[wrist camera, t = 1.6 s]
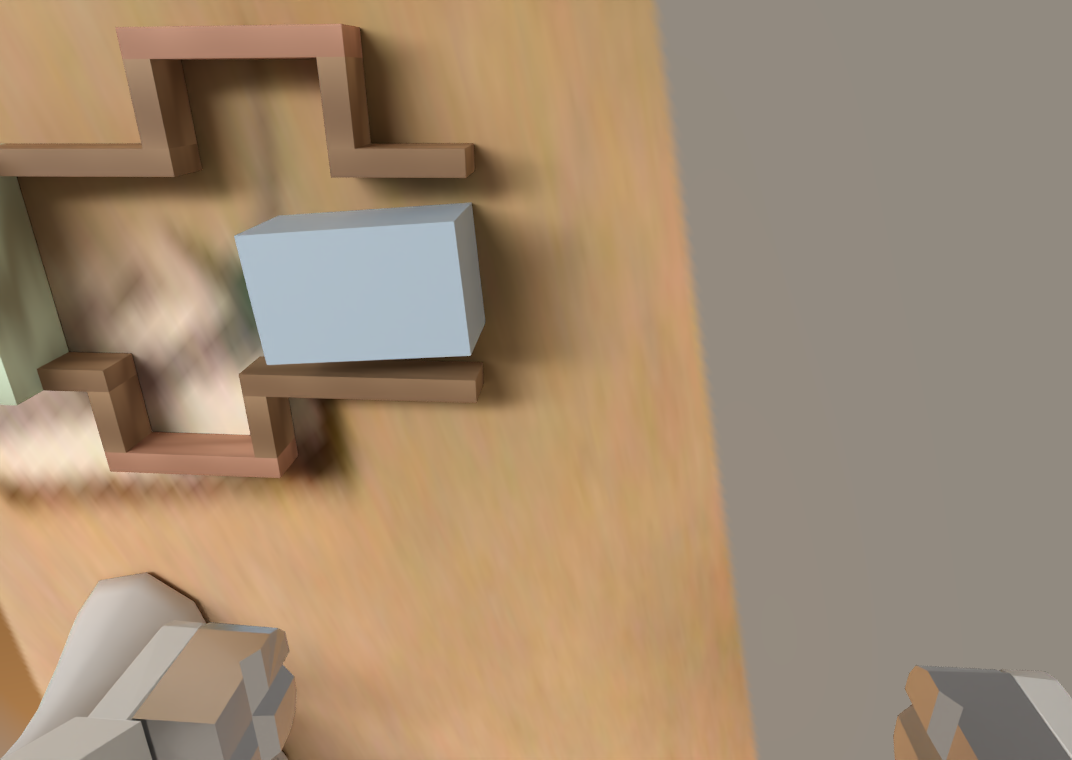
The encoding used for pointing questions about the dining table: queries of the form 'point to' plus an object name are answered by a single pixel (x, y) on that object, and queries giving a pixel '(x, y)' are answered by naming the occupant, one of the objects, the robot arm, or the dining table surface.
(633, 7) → the dining table surface
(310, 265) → the brick
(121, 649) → the flask
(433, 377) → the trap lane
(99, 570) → the dining table surface
